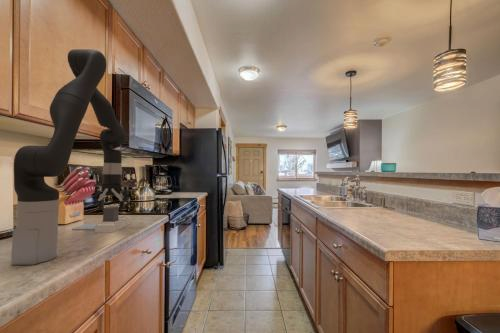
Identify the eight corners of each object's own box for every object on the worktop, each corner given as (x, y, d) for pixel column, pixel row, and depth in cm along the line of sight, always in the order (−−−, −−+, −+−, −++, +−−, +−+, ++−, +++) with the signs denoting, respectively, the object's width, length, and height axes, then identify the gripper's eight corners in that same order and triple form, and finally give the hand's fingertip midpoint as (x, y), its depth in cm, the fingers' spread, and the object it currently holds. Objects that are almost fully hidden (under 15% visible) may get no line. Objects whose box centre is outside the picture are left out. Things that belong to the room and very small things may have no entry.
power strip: (112, 232, 103) (112, 223, 103) (94, 232, 102) (95, 222, 102) (130, 223, 121) (131, 215, 121) (116, 223, 120) (116, 215, 120)
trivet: (95, 230, 106) (95, 228, 106) (72, 230, 105) (72, 228, 106) (107, 225, 116) (107, 224, 116) (86, 225, 115) (86, 223, 115)
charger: (113, 223, 106) (113, 207, 106) (102, 223, 106) (103, 207, 106) (118, 221, 110) (118, 206, 110) (108, 221, 110) (108, 206, 110)
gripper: (91, 173, 104) (90, 210, 104) (124, 173, 105) (123, 210, 105) (100, 172, 112) (99, 207, 112) (132, 173, 113) (131, 208, 113)
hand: (111, 209), depth 108 cm, fingers open, 8 cm apart
